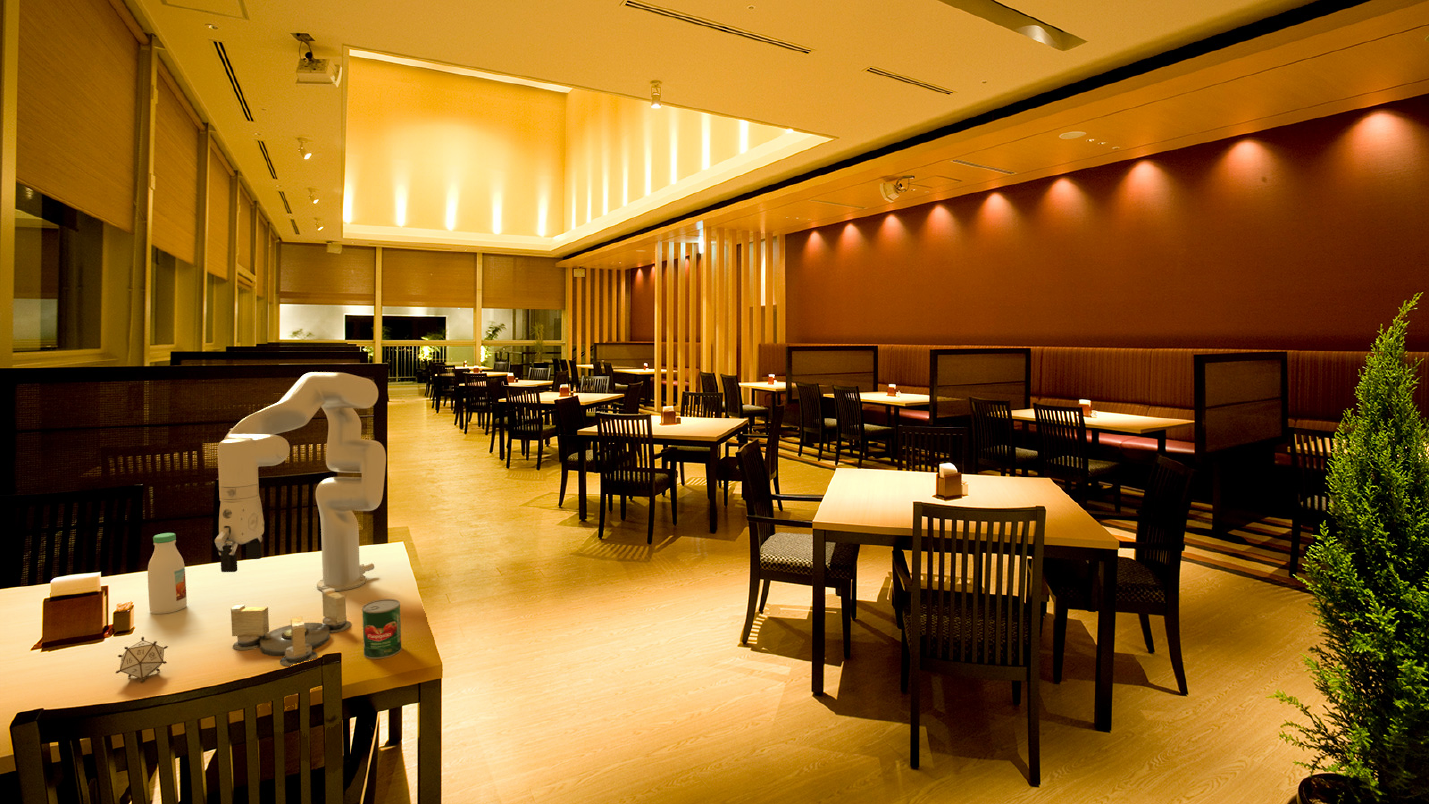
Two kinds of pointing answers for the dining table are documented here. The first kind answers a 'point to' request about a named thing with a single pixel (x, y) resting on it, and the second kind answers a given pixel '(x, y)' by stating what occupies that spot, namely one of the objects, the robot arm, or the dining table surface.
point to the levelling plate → (281, 640)
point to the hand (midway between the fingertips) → (242, 565)
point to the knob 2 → (298, 642)
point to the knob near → (334, 609)
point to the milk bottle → (166, 576)
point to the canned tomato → (381, 628)
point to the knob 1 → (249, 624)
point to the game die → (142, 659)
